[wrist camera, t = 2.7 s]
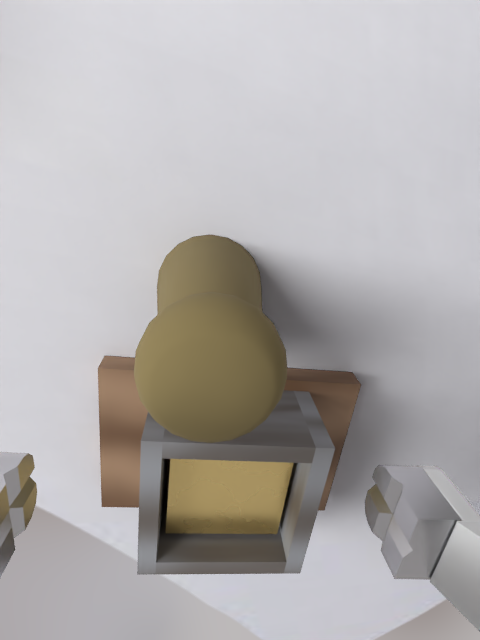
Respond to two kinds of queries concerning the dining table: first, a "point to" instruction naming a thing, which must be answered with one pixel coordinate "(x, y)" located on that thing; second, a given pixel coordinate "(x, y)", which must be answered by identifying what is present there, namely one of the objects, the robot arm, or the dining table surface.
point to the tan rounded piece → (210, 345)
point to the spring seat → (226, 496)
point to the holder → (259, 445)
